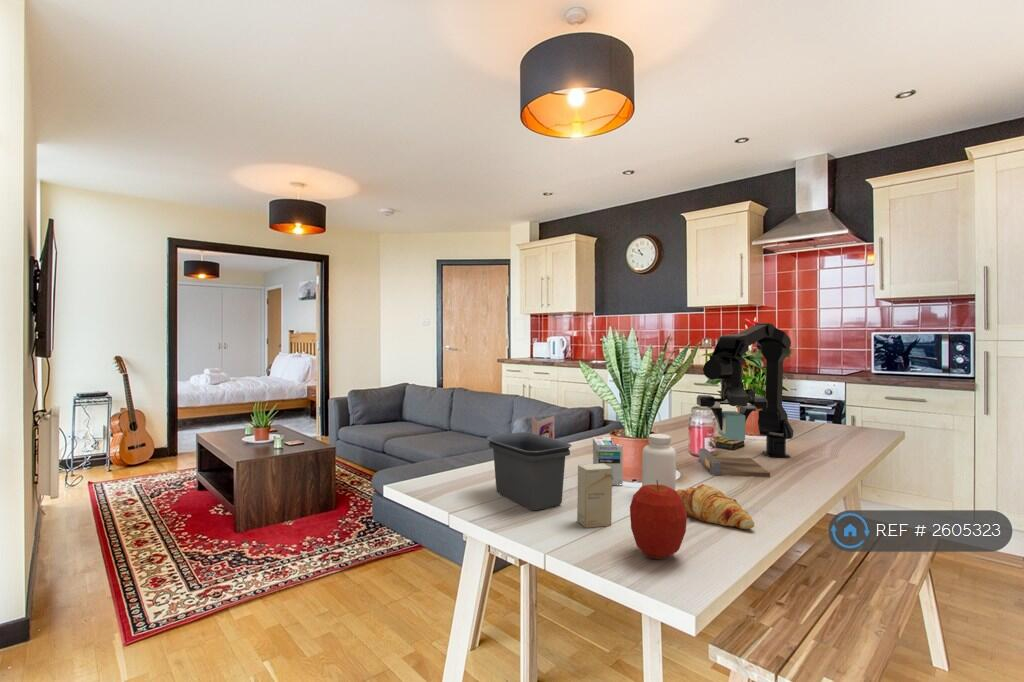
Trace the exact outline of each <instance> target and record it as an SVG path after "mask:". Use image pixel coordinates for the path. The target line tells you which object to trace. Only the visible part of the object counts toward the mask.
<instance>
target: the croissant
mask: <svg viewBox="0 0 1024 682" xmlns="http://www.w3.org/2000/svg"><path fill="white" fill-rule="evenodd" d="M675 491H676V492H677V493H678V495H679V496H680V497H681V499H682V501H683V504H684V507H685V509H686V512H687V516H689V515H690V517H691V516H693V517H692V518H695V519H697V520H700V521H701V520H702V522H704V521H705V522H706V523H711V524H715V525H720V526H722V527H723V526H724V527H725V526H726V527H736V528H738V529H742V530H749V529H752V528H754V527H755V521H754V520H753V518H752V516H751V515H750V514H749V513H750V512H748V511H746V510H745V509H743V507H742V506H741V505H740V504H739V503H738V501H737V500H736V499H735V498H731V497H726V495H725V494H724V493H723V492H722V491H721V490H720V489H718V488H715V487H713V486H711V485H706V484H704V483H701V484H700V485H697V486H696V487H693V486H692V487H689V488H687V489H682V488H681V489H680V488H679V489H676V490H675ZM705 522H704V523H705Z"/></svg>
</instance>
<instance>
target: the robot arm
mask: <svg viewBox="0 0 1024 682" xmlns="http://www.w3.org/2000/svg"><path fill="white" fill-rule="evenodd" d="M755 343H757V344H758V345H759V346H760V352H761V355H762V356H763V358H764V360H765V362H766V365H765V394H764V395H765V397H762V396H758V395H756V390H755V389H754V388H746V389H745V388H744V382H743V363H746V362H747V361H746V359H745V357H743V356H744V355H745V354H746V353H747V352H748V351H749V350H750V348H749V346H751V345H753V344H755ZM791 344H792V341H791V338H790V337H789V336H788V334H787V333H786V332H785V331H783V330H781V329H780V328H777V327H776V326H775V325H774V324H772V323H770V322H759V323H755V324H754V325H753V326H751V327H749V328H747V329H745V330H743V331H741V332H739V333H736V334H725V335H721V336H720V337H719V338H718V340H717V343H716V345H715V347H714V349H713V352H712V354H711V355H709V359H708V360H706V362H705V363H704V364H703V367H702V372H703V374H704V376H705V378H707V379H709V380H712V381H713V380H720V383H719V384H720V395H719V397H720V398H719V397H715V396H712V395H709V394H707V395H705V394H698V395H697V396H696V404H697V405H698V406H700V407H704V408H705V407H706V408H708V409H710V410H711V411H712V414H713V415H714V418H715V420H716V423H717V425H718V426H719V428H720V430H721V431H722V427H723V424H722V411H723V408H722V407H721V405H729V406H732V407H737V406H738V407H739V413H741V414H743V415H745V423H746V422H747V420H748V418H749V416H750V414H751V413H752V412H755V411H756V410H757V409H760V410H758V419H757V425H758V431H759V435H760V436H765V439H766V440H765V441H766V442H765V444H766V445H765V448H766V449H765V450H762V451H761V452H762V454H764V455H766V456H768V457H770V458H771V457H772V458H777V457H778V458H791V456H790V454H788V453H786V452H787V440H789V439H790V440H791V439H793V437H794V433H795V432H794V429H793V428H792V426H791V424H790V422H789V418H788V413H787V411H786V409H785V408H784V406H783V387H784V385H783V383H784V382H783V380H784V379H783V377H784V375H783V374H784V373H783V372H784V361H785V359H786V358H787V357H788V355H789V353H790V347H791Z"/></svg>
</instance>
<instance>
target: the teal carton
mask: <svg viewBox="0 0 1024 682" xmlns="http://www.w3.org/2000/svg"><path fill="white" fill-rule="evenodd" d="M722 424H723V427H722V431H721V430H720V428H719V426H718V429H717V430H718V435H720V436H721V437H722V438H724V439H725V440H726V441H727V440H728V441H729V440H730V441H746V422H745V415H743V414H741V413H740V411H739V412H738V411H737V410H722Z"/></svg>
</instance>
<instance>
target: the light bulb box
mask: <svg viewBox="0 0 1024 682" xmlns="http://www.w3.org/2000/svg"><path fill="white" fill-rule="evenodd" d="M611 438H612V437H609V436H608V437H603V436H602V437H600V436H592V464H600V463H604V464H606V465H608V466H609V467H611V468H612V486H618V485H617V484H622V483H623V484H624V481H623V478H624V477H623V473H624V472H623V469H624V468H623V464H624V463H623V462H624V461H623V460H624V459H623V456H624V455H623V453H624V452H623V451H624V449H623V447H624V446H623V444H622V445H619V444H614V443H613V444H612V441H611Z"/></svg>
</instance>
